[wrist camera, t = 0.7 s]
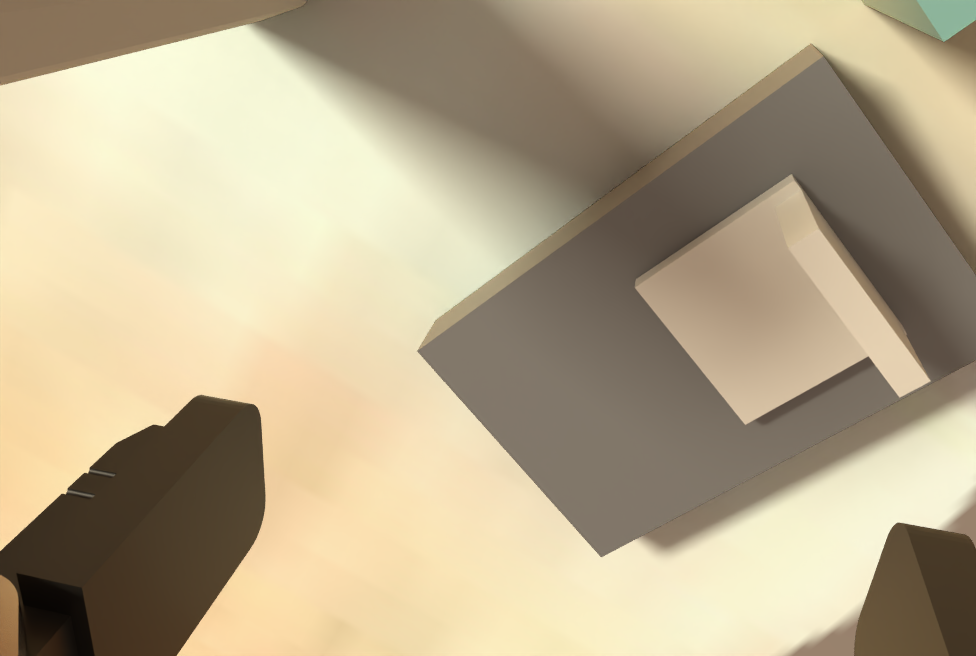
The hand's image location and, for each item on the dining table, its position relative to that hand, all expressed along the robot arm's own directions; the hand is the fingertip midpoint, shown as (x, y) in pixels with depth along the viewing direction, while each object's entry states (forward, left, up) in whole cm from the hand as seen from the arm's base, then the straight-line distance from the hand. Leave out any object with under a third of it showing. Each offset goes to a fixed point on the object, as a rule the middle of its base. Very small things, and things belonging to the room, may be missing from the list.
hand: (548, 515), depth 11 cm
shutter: (0, +8, -21) cm, 22 cm away
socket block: (+3, +8, -24) cm, 25 cm away
